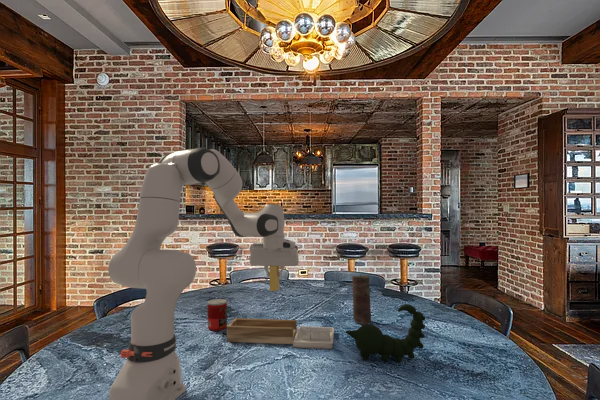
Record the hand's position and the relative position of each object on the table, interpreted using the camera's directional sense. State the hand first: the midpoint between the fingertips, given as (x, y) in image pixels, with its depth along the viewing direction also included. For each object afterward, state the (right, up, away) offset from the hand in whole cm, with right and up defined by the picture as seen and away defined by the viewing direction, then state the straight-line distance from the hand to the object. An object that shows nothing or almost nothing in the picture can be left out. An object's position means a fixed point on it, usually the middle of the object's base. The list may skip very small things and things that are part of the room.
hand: (274, 276), depth 145 cm
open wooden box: (-4, -21, -11) cm, 24 cm away
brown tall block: (+37, -21, +5) cm, 43 cm away
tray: (+16, -21, -13) cm, 29 cm away
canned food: (-24, -22, +1) cm, 32 cm away
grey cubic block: (+13, -20, -13) cm, 27 cm away
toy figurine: (+39, -21, -30) cm, 53 cm away
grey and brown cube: (+18, -19, -14) cm, 29 cm away
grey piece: (+17, -20, -14) cm, 30 cm away
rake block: (0, -5, 0) cm, 5 cm away
